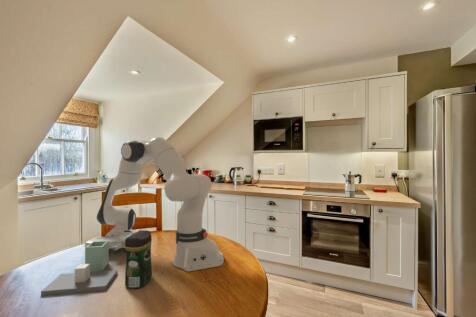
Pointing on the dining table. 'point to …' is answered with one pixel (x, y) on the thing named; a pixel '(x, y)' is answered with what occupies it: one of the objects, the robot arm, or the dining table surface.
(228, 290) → the dining table surface
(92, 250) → the mint green pencil cup
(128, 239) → the coffee jar
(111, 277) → the stub board
